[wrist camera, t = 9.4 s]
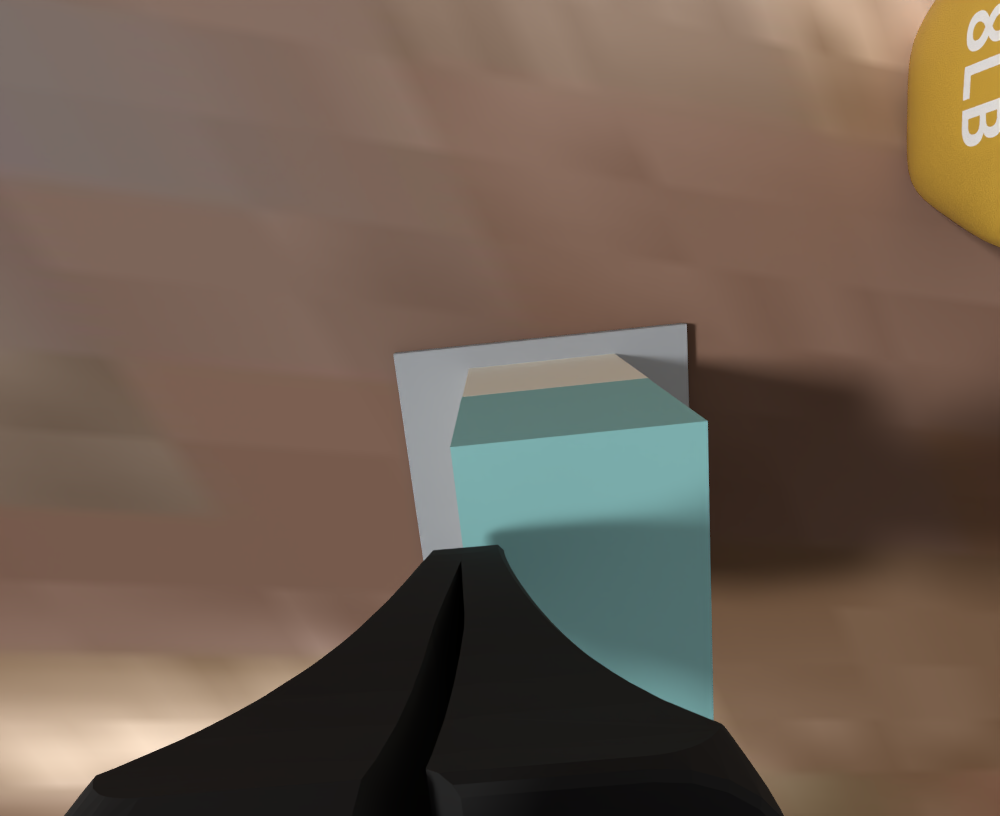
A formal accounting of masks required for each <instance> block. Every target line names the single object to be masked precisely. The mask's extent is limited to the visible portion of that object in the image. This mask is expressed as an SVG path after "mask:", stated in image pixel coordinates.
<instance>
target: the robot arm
mask: <svg viewBox="0 0 1000 816" xmlns="http://www.w3.org/2000/svg"><path fill="white" fill-rule="evenodd" d="M64 816H784V815H783V813H782V811H781V809H780V808H779V806H778V804H777V802H776V801H775V799H774V797H773V796H772V794H771V792H770V791H769V789H768V787H767V786H766V784H765V783H764V781H763V780H762V778H761V777H760V776H759V774H758V773H757V771H756V770H755V768H754V767H753V765H752V764H751V763H750V761H749V760H748V758H747V757H746V755H745V754H744V753H743V751H742V750H741V748H740V747H739V746H738V744H737V743H736V742H735V740H734V739H733V737H732V736H731V735H730V733H729V732H728V731H727V729H726V728H725V727H724V726H723V725H722V724H721V723H718V722H716V721H713V720H711V719H709V718H706V717H704V716H701V715H699V714H696V713H694V712H692V711H689V710H687V709H684V708H682V707H679V706H677V705H675V704H672V703H670V702H667V701H665V700H663V699H661V698H659V697H657V696H655V695H653V694H651V693H649V692H647V691H645V690H643V689H642V688H640V687H638V686H636V685H634V684H632V683H630V682H628V681H627V680H625V679H623V678H622V677H620V676H618V675H617V674H615V673H613V672H612V671H610V670H609V669H608V668H606V667H605V666H603V665H602V664H600V663H599V662H597V661H596V660H594V659H593V658H592V657H590V656H589V655H587V654H586V653H585V652H584V651H582V650H581V649H580V648H579V647H577V646H576V645H575V644H574V643H573V642H572V641H571V640H570V639H568V638H567V637H566V636H565V635H564V634H563V633H562V632H561V631H560V630H559V629H558V628H557V627H556V626H555V625H554V624H553V623H552V622H551V621H550V620H549V619H548V617H547V616H546V615H545V614H544V613H543V612H542V611H541V609H540V608H539V607H538V606H537V605H536V603H535V602H534V601H533V600H532V598H531V597H530V596H529V594H528V593H527V592H526V590H525V589H524V587H523V586H522V585H521V583H520V582H519V580H518V579H517V577H516V576H515V574H514V572H513V570H512V569H511V567H510V565H509V563H508V561H507V559H506V556H505V553H504V550H503V549H502V548H501V547H500V546H499V545H488V546H476V547H465V548H453V549H441V550H433V551H432V552H431V553H430V554H429V555H428V557H427V558H426V559H425V560H424V561H423V562H422V563H421V564H420V566H419V567H418V568H417V569H416V570H415V571H414V572H413V574H412V575H411V576H410V577H409V578H408V579H407V580H406V582H405V583H404V584H403V585H402V586H401V587H400V588H399V589H398V590H397V591H396V593H395V594H394V595H393V596H392V597H391V598H390V599H389V600H388V601H387V602H386V603H385V604H384V605H383V606H382V607H381V608H380V609H379V610H378V611H377V612H376V613H375V614H374V615H372V616H371V617H370V618H369V619H368V620H367V621H366V622H365V623H364V624H363V625H362V626H361V627H360V628H359V629H358V630H357V631H355V632H354V633H353V634H352V635H351V636H350V637H348V638H347V639H346V640H345V641H344V642H342V643H341V644H340V645H339V646H337V647H336V648H335V649H333V650H332V651H331V652H330V653H328V654H327V655H326V656H324V657H323V658H322V659H320V660H319V661H318V662H316V663H315V664H313V665H312V666H311V667H309V668H308V669H306V670H305V671H303V672H302V673H300V674H298V675H297V676H295V677H294V678H292V679H291V680H289V681H288V682H286V683H284V684H283V685H281V686H280V687H278V688H277V689H275V690H273V691H272V692H270V693H269V694H267V695H266V696H264V697H262V698H261V699H259V700H257V701H256V702H254V703H252V704H250V705H248V706H247V707H245V708H243V709H241V710H239V711H237V712H236V713H234V714H232V715H230V716H228V717H226V718H224V719H222V720H220V721H218V722H216V723H215V724H213V725H211V726H209V727H207V728H205V729H203V730H201V731H199V732H197V733H195V734H192V735H190V736H188V737H186V738H184V739H182V740H180V741H178V742H175V743H173V744H171V745H168V746H166V747H164V748H161V749H159V750H157V751H154V752H152V753H150V754H147V755H145V756H143V757H140V758H138V759H136V760H133V761H131V762H129V763H126V764H124V765H122V766H119V767H117V768H114V769H112V770H109V771H107V772H104V773H102V774H99V775H97V776H95V778H94V779H93V780H92V781H91V782H90V784H89V785H88V786H87V787H86V788H85V790H84V791H83V792H82V794H81V795H80V796H79V797H78V799H77V800H76V801H75V803H74V804H73V805H72V806H71V808H70V809H69V810H68V812H67V813H66V814H65V815H64Z"/></svg>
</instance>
